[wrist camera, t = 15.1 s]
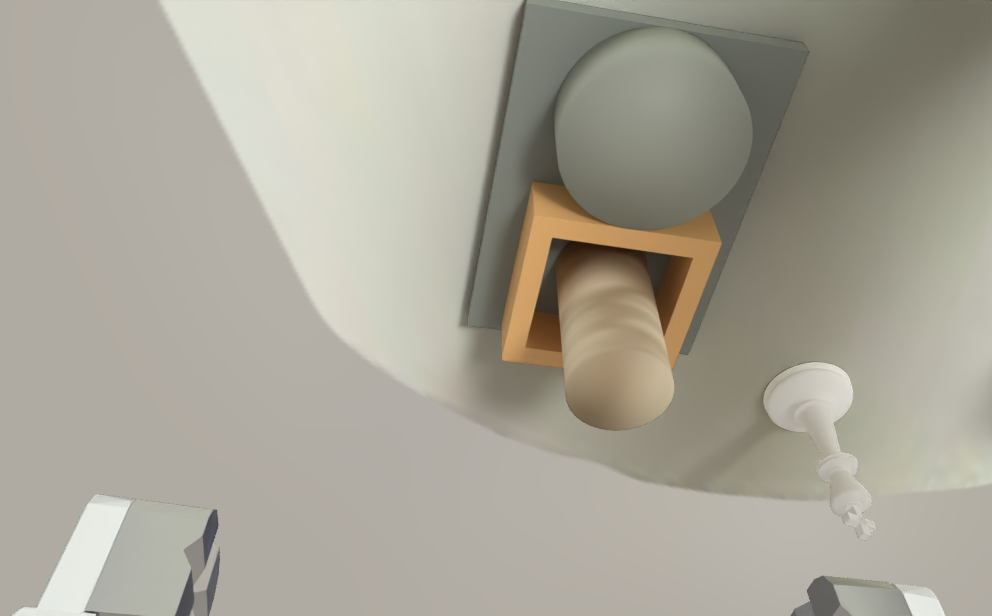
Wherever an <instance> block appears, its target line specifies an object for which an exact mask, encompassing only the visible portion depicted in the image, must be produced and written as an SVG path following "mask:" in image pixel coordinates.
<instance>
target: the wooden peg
mask: <svg viewBox="0 0 992 616" xmlns="http://www.w3.org/2000/svg"><path fill="white" fill-rule="evenodd" d="M556 282H557V295H558V307H559V319H560V332H561V344H562V356H563V369H564V381H565V394H566V401H567V404H568V406H569V408H570V410H571V411H572V413H573V414H574V415H575V416H576V417H577V418H578V419H580V420H581V421H583V422H584V423H586V424H588V425H590V426H593V427H596V428H599V429H605V430H627V429H632V428H636V427H640V426H642V425H645V424H647V423H649V422H651V421H653V420H654V419H656V418H657V417H659V416H660V415H661V414H662V413H663V412H664V411H665V410H666V409H667V407H668V406H669V404H670V403H671V401H672V398H673V395H674V390H675V386H674V380H673V375H672V371H671V367H670V362H669V358H668V354H667V349H666V345H665V340H664V336H663V332H662V327H661V323H660V319H659V314H658V310H657V306H656V301H655V297H654V292H653V288H652V284H651V279H650V275H649V271H648V266H647V262H646V258H645V254H644V252H643V251H641V250H635V249H628V248H621V247H614V246H607V245H600V244H593V243H586V242H579V241H573V240H571V241H570V242H569V243H568V244H567V245H566V246H565V247H564V248H563V249H562V251H561V252H560V254H559V256H558V259H557V262H556Z"/></svg>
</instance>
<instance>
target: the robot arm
mask: <svg viewBox="0 0 992 616" xmlns="http://www.w3.org/2000/svg"><path fill="white" fill-rule="evenodd" d="M217 516H218V515H217V510H215V509H207V508H199V507H192V506H184V505H177V504H169V503H162V502H154V501H147V500H139V499H133V498H124V497H116V496H107V495H98V494H96V495H94V496H93V498H92V499H91V500H90V501H89V502H88V503H87V504H86V505H85V507H84V509H83V512H82V514H81V516H80V518H79V520H78V522H77V524H76V526H75V528H74V530H73V532H72V534H71V536H70V538H69V540H68V542H67V545H66V546H65V548H64V550H63V552H62V554H61V556H60V558H59V561H58V562H57V565H56V567H55V569H54V571H53V573H52V575H51V577H50V579H49V581H48V583H47V585H46V587H45V589H44V591H43V593H42V595H41V597H40V599H39V601H38V603H37V605H36V607H22V608H20V609H19V610H17V611H16V612H15V613H13V614H12V615H11V616H209V613H210V610H211V606H212V602H213V599H214V595H215V589H216V585H217V580H218V574H219V562H220V555H219V553H220V552H219V547H218V546H217V545H216V544H215V543H214V538H215V535H216V532H217V529H218V517H217ZM807 593H808V596H809V599H810V602H808V603H806V604H804V605H802V606H800V607H798V608H796V609H794V611H793V613H792V614H791V616H945V614H944V612H943V609H942V607H941V605H940V603H939V601H938V599H937V597H936V595H935V594H934V593H933V592H932V591H931V590H930V589H929V588H927V587H922V586H913V585H901V584H890V583H888V582H883V581H872V580H862V579H851V578H840V577H831V576H821V577H819V578H817V579H814V581H813V582H812V583H811V585H810V586H809V588H808V589H807Z"/></svg>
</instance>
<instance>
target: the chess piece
mask: <svg viewBox="0 0 992 616" xmlns="http://www.w3.org/2000/svg"><path fill="white" fill-rule="evenodd" d="M852 400H853V389H852V386H851V381H850V378H849V377H848V375H847V374H846V373H845V372H844V371H843V370H842V369H840V368H839V367H837V366H835V365H832V364H828V363H822V362H810V363H804V364H800V365H796V366H793V367H791V368H789V369H787V370H785V371H783V372H782V373H780V374H779V375H777V376H776V377H775V378H774V379H773V380H772V381H771V382H770V383H769V385H768V386H767V388H766V390H765V393H764V397H763V404H764V408H765V410H766V412H767V413H768V415H769V417H770V418H771V420H772V421H773V422H774V423H775V424H776V425H778V426H779V427H781V428H783V429H786V430H790V431H795V432H807V433H808V434H809V436H810V438H811V439H812V441H813V443H814V444H815V446H816V448H817V450H818V451H819V453H820V455H821V457H822V459H821V460H820V461H819V462H818V464H817V466H816V474H817V475H818V477H819V478H820V479H821V480H823V481H824V482H827V483H830V489H831V495H830V507H831V510H832V511H833V512H834V513H835V514H837V515H839V516H841V517H842V520H843V522H844V524H846V525H848V526H851V527H854V529H855V531H856V534H857V536H858V538H859V539H862V540H865V541H866V540H867V539H868V538H869V537H871V533H872V532H874V531H875V530H876V529H877V528H876V525H875V523H874V522H873V521H870V520H868V519H865V518H864V517H863V514H862V513H864V512H865V511H866V510H868V508H869V507H870V506H871V504H872V497H871V495H870V493H869V492H868V491H867V490H866V489H865V488H864V487H863V486H862V485H861V484H860V483H859V482H858V481H857V480H856V479H855V478H854V477H853V476H854V475H855V474H856V472H857V470H858V462H857V459H856V458H855V457H854V456H853V455H851V454H848V453H841V449H840V446H839V443H838V439H837V435H836V431H835V426H834V423H835V422H836V421H838V420H839V419H840V418H841V417H842V416H843V415H844V414H845V413H846V412H847V411H848V409H849V408H850V406H851V404H852Z"/></svg>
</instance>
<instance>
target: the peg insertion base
mask: <svg viewBox="0 0 992 616" xmlns="http://www.w3.org/2000/svg"><path fill="white" fill-rule="evenodd" d="M808 54H809V50H808V49H807V48H806V46H805V45H804V44H803V43H801V42H796V41H790V40H784V39H778V38H772V37H766V36H761V35H755V34H749V33H743V32H737V31H732V30H726V29H720V28H714V27H708V26H702V25H697V24H691V23H685V22H679V21H673V20H667V19H662V18H656V17H650V16H644V15H638V14H633V13H627V12H621V11H615V10H609V9H603V8H598V7H592V6H586V5H580V4H574V3H568V2H563V1H557V0H526V4H525V9H524V15H523V20H522V25H521V31H520V36H519V42H518V47H517V52H516V58H515V63H514V69H513V74H512V79H511V85H510V90H509V95H508V101H507V106H506V112H505V117H504V122H503V128H502V133H501V138H500V144H499V149H498V155H497V160H496V165H495V171H494V176H493V181H492V187H491V192H490V198H489V203H488V208H487V214H486V219H485V225H484V230H483V235H482V241H481V246H480V251H479V257H478V262H477V268H476V273H475V278H474V284H473V289H472V294H471V300H470V305H469V311H468V321H467V326H475V327H482V328H490V329H497V330H502V360H503V361H511V362H518V363H526V364H533V365H541V366H549V367H556V368H563V356H562V344H561V332H560V319H559V307H558V295H557V282H556V262H557V259H558V256H559V254H560V252H561V251H562V249H563V248H564V247H565V246H566V245H567V244H568V243H569V242H570V241H571V240H573V241H579V242H586V243H593V244H600V245H607V246H614V247H621V248H628V249H635V250H641V251H643V252H644V254H645V258H646V262H647V266H648V271H649V275H650V279H651V284H652V288H653V292H654V297H655V301H656V306H657V310H658V314H659V319H660V323H661V327H662V332H663V336H664V340H665V345H666V349H667V354H668V358H669V362H670V367H671V371H672V370H673V367H674V364H675V362H676V359H677V357H678V354H684V355H688V354H689V352H690V349H691V347H692V344H693V342H694V339H695V337H696V334H697V332H698V329H699V327H700V324H701V322H702V319H703V316H704V314H705V311H706V309H707V306H708V304H709V301H710V299H711V296H712V294H713V291H714V289H715V286H716V284H717V281H718V279H719V276H720V274H721V271H722V269H723V266H724V264H725V261H726V259H727V256H728V254H729V251H730V249H731V246H732V244H733V241H734V239H735V236H736V234H737V231H738V229H739V226H740V224H741V221H742V219H743V216H744V214H745V211H746V209H747V206H748V204H749V201H750V199H751V196H752V194H753V191H754V189H755V186H756V184H757V181H758V179H759V176H760V174H761V171H762V169H763V166H764V164H765V161H766V159H767V156H768V154H769V151H770V149H771V146H772V144H773V141H774V139H775V136H776V134H777V131H778V129H779V126H780V124H781V121H782V119H783V116H784V114H785V111H786V109H787V106H788V104H789V101H790V99H791V96H792V94H793V91H794V89H795V86H796V84H797V81H798V79H799V76H800V74H801V71H802V69H803V66H804V64H805V61H806V59H807V56H808Z"/></svg>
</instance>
